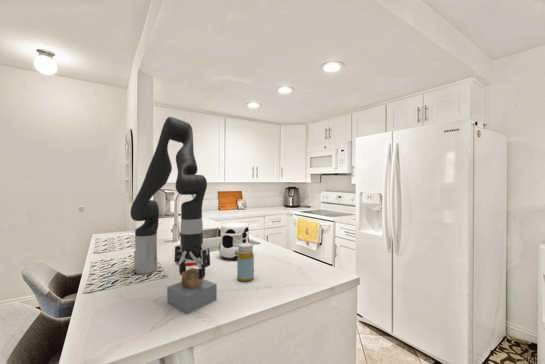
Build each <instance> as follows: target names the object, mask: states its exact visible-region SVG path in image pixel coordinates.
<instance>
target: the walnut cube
mask: <svg viewBox="0 0 545 364" xmlns="http://www.w3.org/2000/svg"><path fill="white" fill-rule="evenodd" d="M198 269H199V268H193V267H191V268H189V269H186V271H184V272H182V275H181V282H182V287H185V288H189V289H194V288H196V287H198V286H199V285H201V284H203V279H204V278H203V279H199V271H198Z"/></svg>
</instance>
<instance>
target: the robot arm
mask: <svg viewBox="0 0 545 364" xmlns="http://www.w3.org/2000/svg"><path fill="white" fill-rule="evenodd" d="M193 135H194V133H193V127H192V125H191V123H189V122H186V121H184V120H181V119H178V118H175V117H173V116H168V117H166V119H165V121H164V123H163V125H162V128H161V132H160V135H159V139H158V141H157V146H156V148H155V150H154V153H153V155H152V158H151V161H150V164H149V166H148V167H147V170H146V173H145V176H144V179H143V181H142V184H141V186H140V189H139V190H138V193H137V194H136V197H135V199H134V200H133V202H132V205H131V208H130V217H131V219H132V220H133V221H135V222H143V221H144V222H143V223H142V224H141V225H140V226H139V227H137V228H136V229H135V231H134V237H135V238H134V239H135V240H134V242H135V243H134V247H135V250H134V251H133V271H134V272H135V273H136V274H139V275H143V274H144V275H145V274H151V273H154V272H156V271H157V270H158V229H159V219H160V218H159V217H160V209H159V204H158V203H157V201H156V200H153V199H152V197H154V195H155V194H157V193H158V191H160V190H161V189H162V188H163V187H164V186H165V185H166V183H167V182H168V180H169V178H170V175H171V173H172V170H173V168H172V167H173V166H172V162H171V159H170V154H169V149H168V147H169V142H170V141H174V142H177V143H181V144H182V146H181V148H179V150H178V151H177V152H176V154H175V155H176V156H175V164H176V168H177V175H176V181H175V191H176V192H177V193H178V194H179V195H182V196H188V195H189V196H190V195H195V197H194V198H192V199H191V200H187V201H184V202H183V203H181V206H180V212H181V213H180V218H181V219H180V244H179V245H176V246H175V248H174V259H173V260H174V262H175V263H178V264H179V265H178V264H177V265H178V267H179V268H178V269H179V270H178V272H179V275H180V276H182V272H184V271H186V270H187V266H186V264H185V262H186V261H187V260H192V261H194V262H195V263H196V264H197V265H196V266H198V268H197V269H198V271H199V279H204V278H205V276H206V268H208V267H210V265H211V254H210V248H204V249H202V248H203V246H202V245H203V243H204V239H203V238H204V236H203V235H204V233H203V232H204V225H203V202H204V198H205V195H206V191H207V187H208V181H207V179H206V177H205V176H204V175H202V174H197V173H198V170H199V169H198V164H197V160H196V158H195V154H194V153H195V152H194V136H193ZM151 199H152V200H151ZM182 252H183V254H182ZM201 253H202V254H201ZM178 256H179V258H178ZM198 258H200V259H199V260H198ZM200 262H201V263H200Z"/></svg>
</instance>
